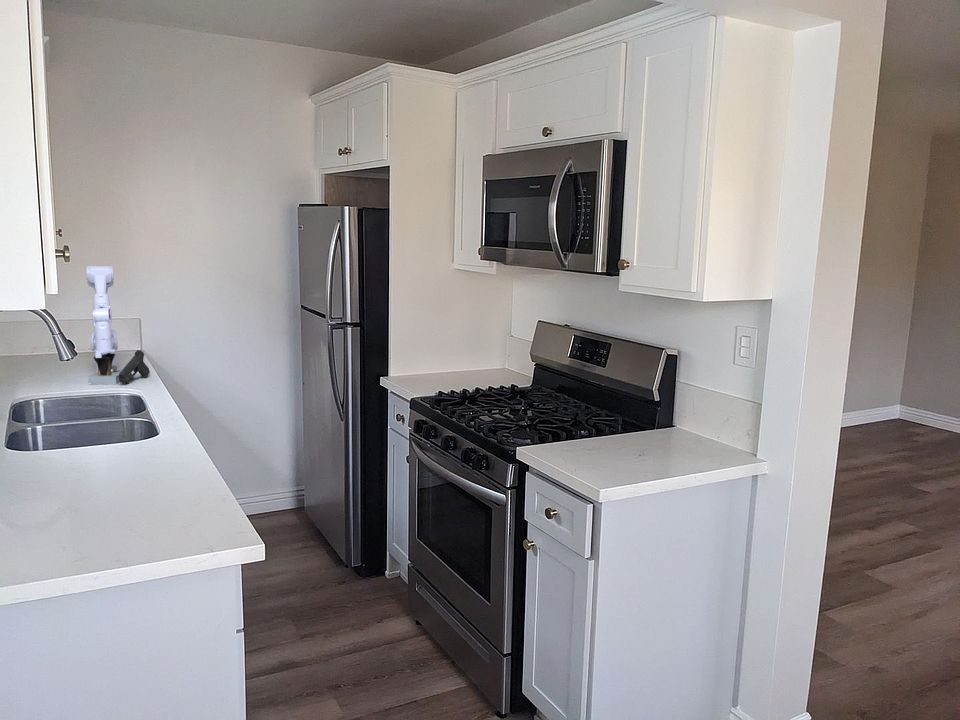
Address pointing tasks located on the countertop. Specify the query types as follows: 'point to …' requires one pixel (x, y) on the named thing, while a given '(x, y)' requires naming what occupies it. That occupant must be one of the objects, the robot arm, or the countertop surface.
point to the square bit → (107, 372)
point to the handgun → (134, 368)
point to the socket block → (104, 378)
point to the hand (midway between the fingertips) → (105, 373)
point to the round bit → (114, 368)
